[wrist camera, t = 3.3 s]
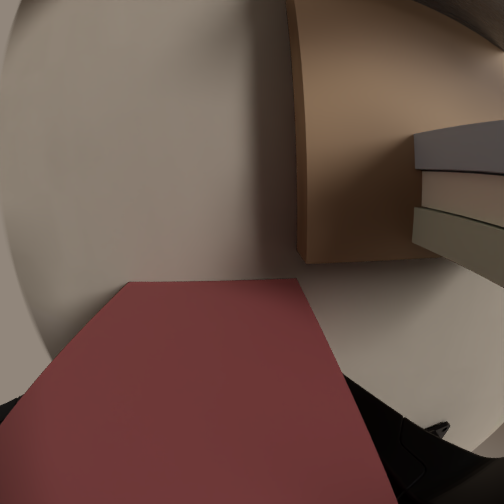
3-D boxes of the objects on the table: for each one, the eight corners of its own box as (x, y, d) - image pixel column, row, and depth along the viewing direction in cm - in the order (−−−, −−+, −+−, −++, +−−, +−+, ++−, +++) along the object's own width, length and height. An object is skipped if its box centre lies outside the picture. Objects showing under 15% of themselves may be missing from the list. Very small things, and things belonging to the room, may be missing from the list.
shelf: (523, 243, 9) (540, 249, 8) (296, 250, 9) (306, 263, 8) (496, 25, 6) (510, 19, 4) (277, -56, 5) (280, -76, 4)
